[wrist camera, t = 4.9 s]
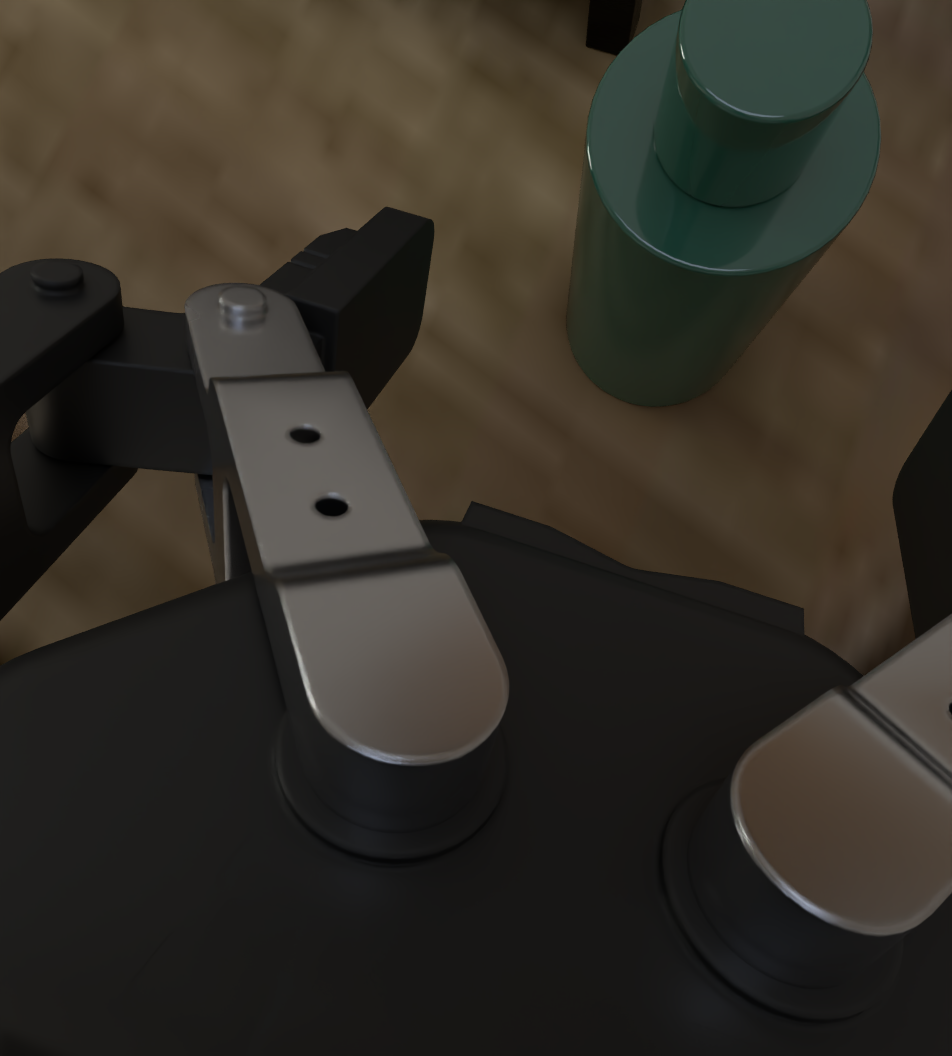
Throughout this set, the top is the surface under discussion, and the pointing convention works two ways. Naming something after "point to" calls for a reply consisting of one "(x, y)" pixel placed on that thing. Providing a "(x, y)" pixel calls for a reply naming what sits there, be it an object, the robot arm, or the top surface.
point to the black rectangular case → (612, 24)
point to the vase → (715, 186)
